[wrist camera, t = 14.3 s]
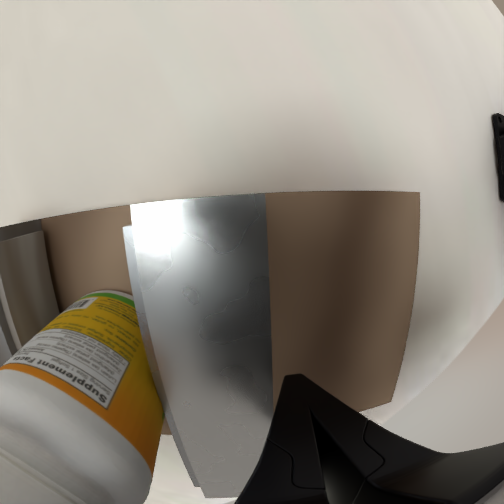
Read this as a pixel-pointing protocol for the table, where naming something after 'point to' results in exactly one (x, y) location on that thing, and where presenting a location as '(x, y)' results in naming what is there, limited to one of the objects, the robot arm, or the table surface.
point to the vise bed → (280, 280)
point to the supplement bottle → (80, 409)
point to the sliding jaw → (207, 329)
